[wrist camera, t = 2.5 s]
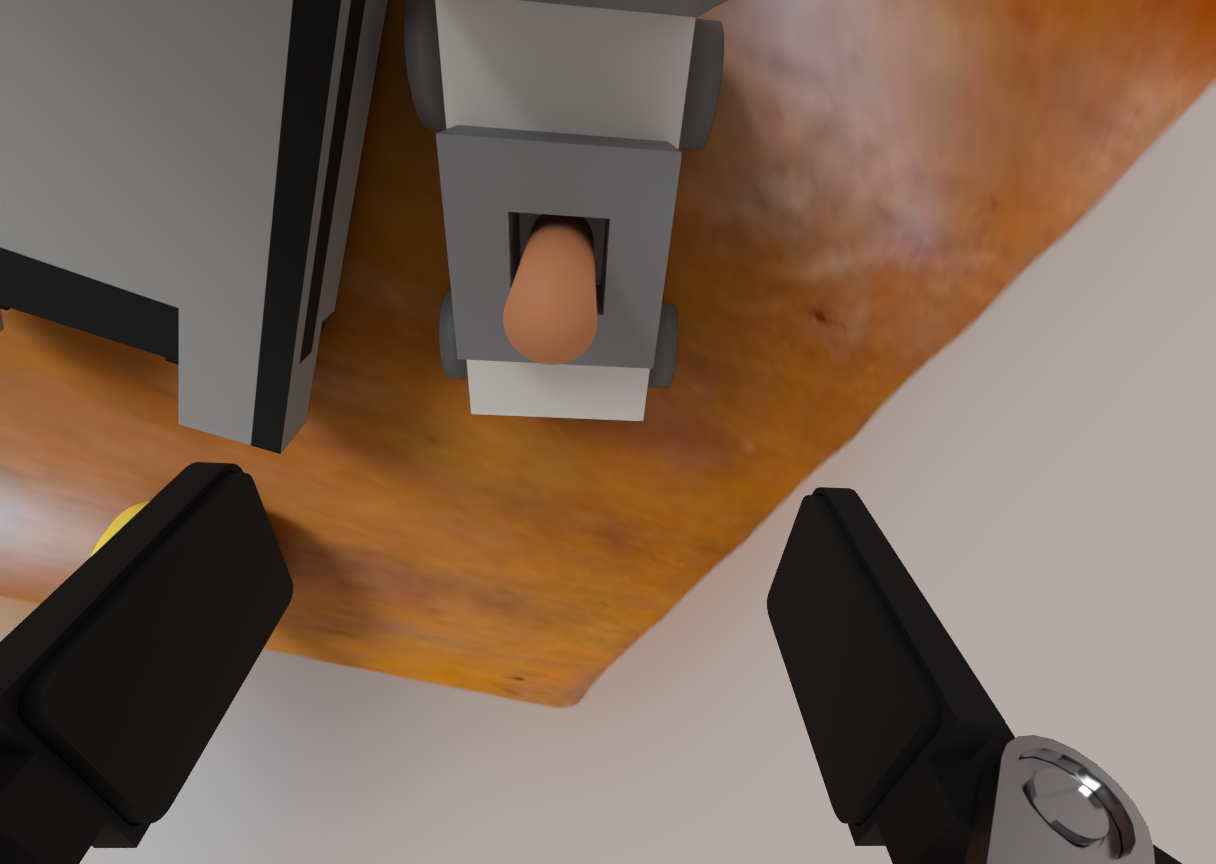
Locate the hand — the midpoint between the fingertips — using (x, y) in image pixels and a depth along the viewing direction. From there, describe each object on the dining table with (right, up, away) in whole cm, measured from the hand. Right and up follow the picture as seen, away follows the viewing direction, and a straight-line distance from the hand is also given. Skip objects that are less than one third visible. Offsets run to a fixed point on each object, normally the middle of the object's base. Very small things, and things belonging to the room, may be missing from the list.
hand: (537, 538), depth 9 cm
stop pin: (-1, +11, +16) cm, 19 cm away
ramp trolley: (-1, +14, +20) cm, 25 cm away
